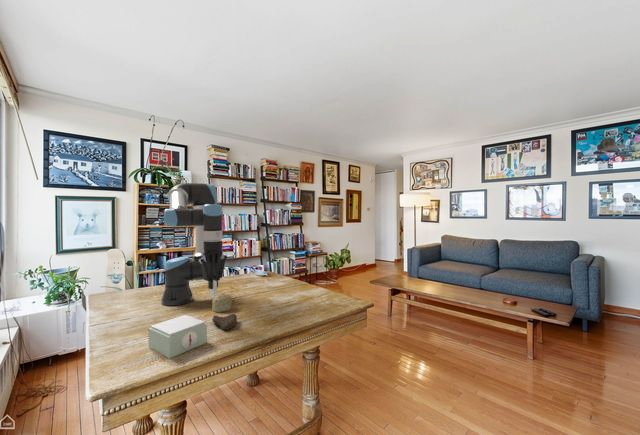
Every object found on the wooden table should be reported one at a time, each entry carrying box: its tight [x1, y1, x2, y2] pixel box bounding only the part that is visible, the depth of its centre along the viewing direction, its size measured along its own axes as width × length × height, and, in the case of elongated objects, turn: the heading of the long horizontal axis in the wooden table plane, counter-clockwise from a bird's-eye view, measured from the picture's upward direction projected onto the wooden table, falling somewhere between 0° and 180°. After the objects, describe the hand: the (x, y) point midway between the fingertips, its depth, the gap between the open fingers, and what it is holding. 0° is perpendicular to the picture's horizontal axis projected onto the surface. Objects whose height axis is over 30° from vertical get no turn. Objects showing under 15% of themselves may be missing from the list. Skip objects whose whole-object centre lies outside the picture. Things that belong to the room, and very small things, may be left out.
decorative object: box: [211, 292, 233, 313], centre depth 139 cm, size 9×10×10 cm
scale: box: [148, 314, 208, 359], centre depth 101 cm, size 15×14×8 cm
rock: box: [211, 313, 238, 331], centre depth 118 cm, size 11×10×4 cm
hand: (213, 295), depth 118 cm, fingers closed
